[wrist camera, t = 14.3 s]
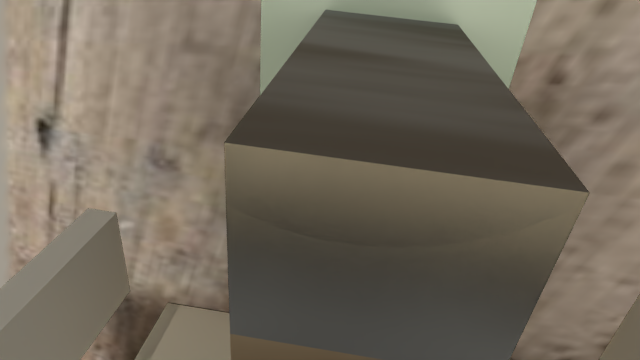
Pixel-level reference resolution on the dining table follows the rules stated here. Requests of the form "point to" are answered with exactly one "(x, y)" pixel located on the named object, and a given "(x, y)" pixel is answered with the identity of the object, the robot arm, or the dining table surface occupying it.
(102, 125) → the dining table surface
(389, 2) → the sage pad
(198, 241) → the dining table surface
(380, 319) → the box
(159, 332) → the carton
